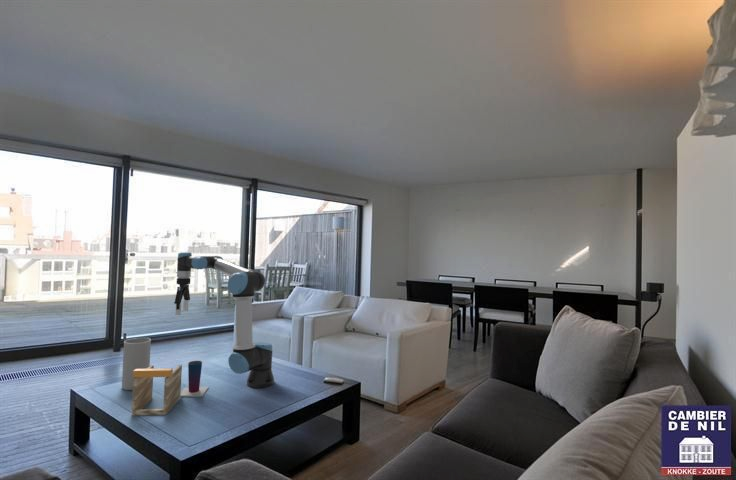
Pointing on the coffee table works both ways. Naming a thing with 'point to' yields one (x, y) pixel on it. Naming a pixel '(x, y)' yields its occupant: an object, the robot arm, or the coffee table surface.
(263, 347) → the robot arm
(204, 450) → the coffee table surface
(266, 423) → the coffee table surface
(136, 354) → the cylinder vase
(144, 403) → the cradle
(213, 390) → the coffee table surface
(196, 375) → the cup
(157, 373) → the tie bar
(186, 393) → the pad
